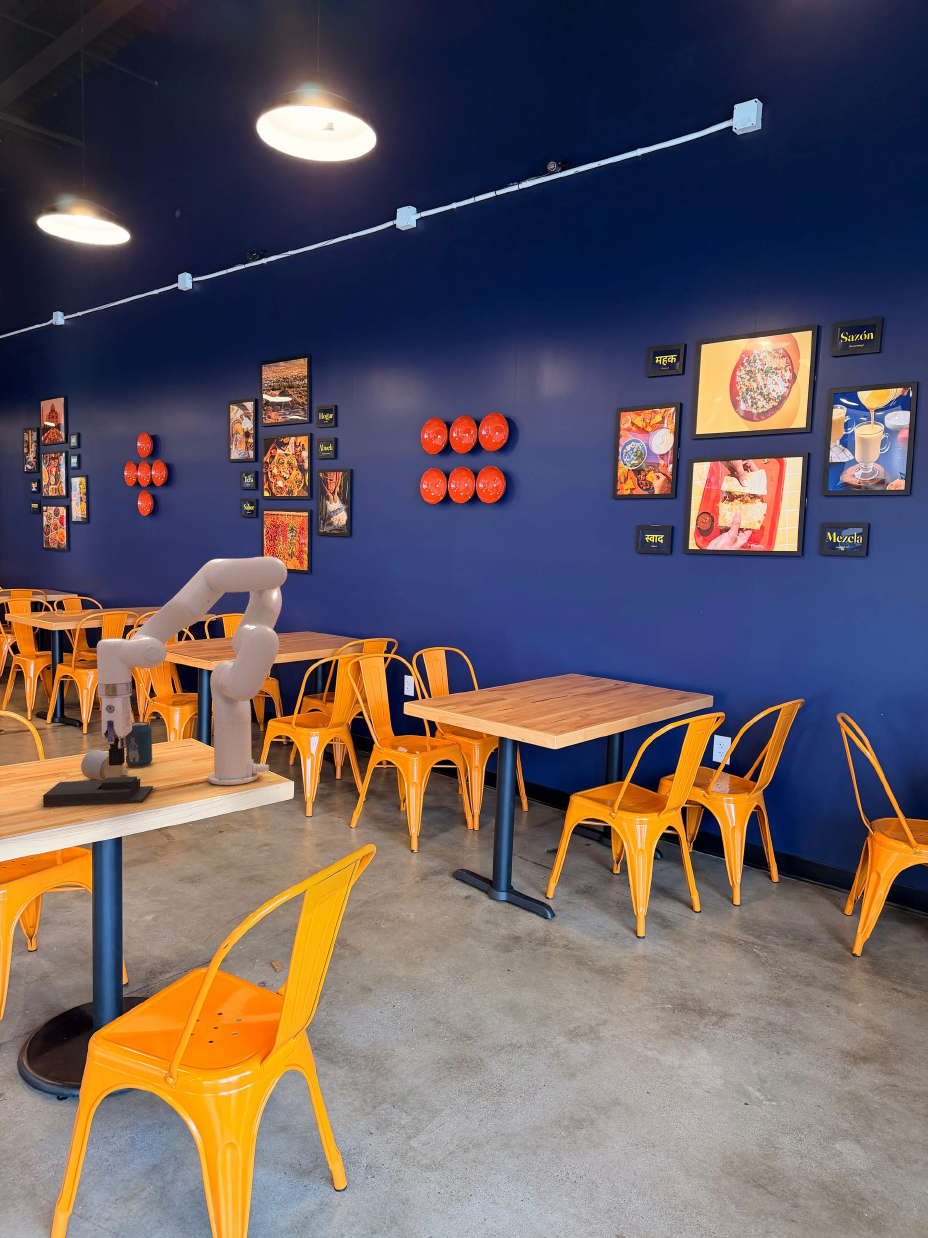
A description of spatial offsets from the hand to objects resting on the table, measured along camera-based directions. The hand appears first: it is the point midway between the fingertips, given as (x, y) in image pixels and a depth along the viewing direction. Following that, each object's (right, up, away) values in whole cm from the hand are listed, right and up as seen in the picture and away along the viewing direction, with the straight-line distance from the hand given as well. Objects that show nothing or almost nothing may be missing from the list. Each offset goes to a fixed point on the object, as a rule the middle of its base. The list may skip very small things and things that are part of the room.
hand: (116, 764), depth 194 cm
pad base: (-4, -8, 0) cm, 9 cm away
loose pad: (+1, -7, 0) cm, 7 cm away
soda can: (-7, -6, +32) cm, 33 cm away
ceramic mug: (-10, -7, +17) cm, 21 cm away
